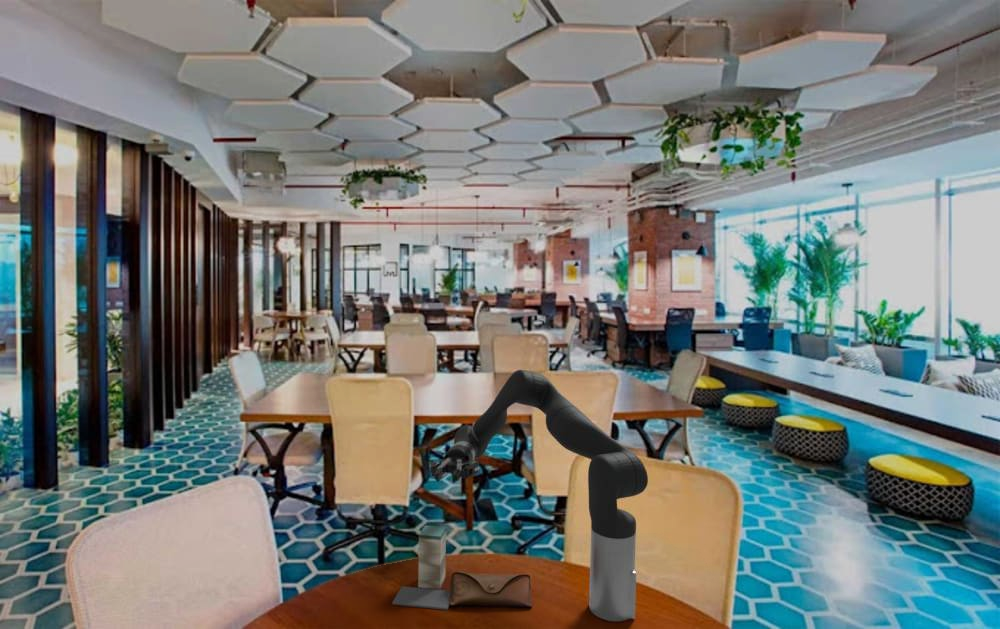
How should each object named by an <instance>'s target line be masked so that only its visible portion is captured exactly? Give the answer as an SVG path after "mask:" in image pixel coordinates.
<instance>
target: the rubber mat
mask: <svg viewBox="0 0 1000 629" xmlns="http://www.w3.org/2000/svg"><path fill="white" fill-rule="evenodd" d="M391 604H392V605H396V606H404V607H414V608H423V609H435V610H446V611H447V610H449V607H450V606H451V605H450V590H444V589H431V588H421V587H411V586H401V588H400V589H399V590H398V592H397V594H396V595H395V597H394V599H393V600H392V603H391Z"/></svg>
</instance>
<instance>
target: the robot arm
mask: <svg viewBox="0 0 1000 629" xmlns="http://www.w3.org/2000/svg"><path fill="white" fill-rule="evenodd" d="M516 403H517V404H519V405H525V406H528V407H532V408H536V409H538V410H540V411H541V412H542V413H543V414H544V415H545V426H546V430H548V433H549V434H550V435H551V436H552V437H553V438H554V439H555V441H557V442H558V444H560V445H561V446H562V448H564V449H566V450H568V451H570V452H571V453H574V454H577V455H579V456H581V457H584V458H587V459H589V460H590V462H589V466H588V472H587V473H588V474H587V485H588V486H587V488H588V489H587V490H588V511H589V516H590V526H591V527H590V555H589V556H590V557H589V558H590V559H589V561H590V562H589V594H588V601H589V603H588V608H589V610H590V612H591V613H592V614H593V615H594V616H595V617H597V618H599V619H602V620H605V621H608V622H624V621H627V620H635V619H636V591H637V590H636V589H637V588H636V586H637V572H636V541H637V540H636V539H637V538H636V537H637V534H636V533H637V521H636V518H635V516H634V515H633V514H631V513H630V512H628V511H626V510H624V509H620V508H618V500H619V499H625V498H630V497H631V498H632V497H635V496H637V495H640V494H642V493H643V492H644V491H645V490H646V488H647V486H648V483H649V478H648V473H647V469H646V467H645V465H644V463H643V462H642V460H641V459H640V458H639V457H638V455H636V454H635V453H634V452H633V451H631V450H630V449H629V448H627V447H626V446H624V445H623V444H621V443H620V442H618V441H617V440H616V439H614V438H612V437H611V436H610V435H609V434H607V433H606V432H605V431H604V430H603V429H601V428H600V427H599V426H598V425H597V424H596V423H594V422H593V421H592V420H591V419H590V418H589V417H588V416H587V415H586V414H585V413H584V412H582V411H581V410H580V409H579V408H578V407H576V406H575V405H574V404H573V403H572V402H571V401H570V400H568V399H567V398H566V397H565V396H563V395H562V394H561V392H559V390H558V389H557V388H556V386H555V385H554V384H553V383H552V382H551V381H550V378H548V377H546V376H545V375H544V374H541V373H537V372H535V371H534V372H533V371H529V370H526V369H518V370H515V371H514V372H513V373H512V374H511V375H510V376H509V377H508V378H507V380H506V382H505V383H504V385H503V386H502V388H501V389H500V390H499V392H498V393H497V395H496V397H495V398H494V400H493V401H492V403H491V404H490V405H489V407H488V408H487V409H486V410H485V411H484V412H483V413H482V414H481V415H480V417H478V419H477V420H476V421H475V422H474V423H473V425H468V424H466V425H464V426H461V427H460V428H459V429H458V430H457V431H456V433H455V435H454V438H453V445H452V446H451V447H450V448H449V449H448V451H447V452H446V453H445V455H444V457H443V459H441V460H439V462H437V461H435V460H434V459H430V460H429V472H430V475H431V476H432V477H433V478H434V480H435V482H437V483H439V482H440V481H441V480H442V479H443V477H447V476H448V475H451V477H452V479H451V482H452V483H456V482H459V480H461V479H462V477H463V478H464V479H469V478H471V477H473V476H475V475H476V474H478V473H479V467H480V466H479V462H477V461H475V460H476V459H479V458H481V457H483V455H484V454H485V453H486V452H487V449H488V446H489V445H490V442H491V441H492V439H493V438H494V437H495V436H497V434H498V433H500V431H501V430H502V429H503V428H504V427H505V425H506V423H507V419H508V409H509V407H511V406H512V405H514V404H516ZM474 461H475V462H474Z"/></svg>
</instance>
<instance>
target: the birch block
mask: <svg viewBox="0 0 1000 629" xmlns="http://www.w3.org/2000/svg"><path fill="white" fill-rule="evenodd" d="M446 541H447V527H446V526H439V525H438V526H437V525H424V526H423V528H422V529H421V531H420V533H419V534H418V575H417V576H418V577H417V578H418V583H417V584H418V586H417V588H425V589H435V590H441V588H442V585H443V584H444V582H445V579H446V560H447V558H446V556H447V554H446V551H447V549H446V548H447V547H446V546H447V544H446V543H447V542H446Z"/></svg>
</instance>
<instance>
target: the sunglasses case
mask: <svg viewBox="0 0 1000 629" xmlns="http://www.w3.org/2000/svg"><path fill="white" fill-rule="evenodd" d="M450 578H451V581H450V589H449V591H450V605H449V606H453V607H454V606H477V607H478V606H485V607H486V606H487V607H499V608H500V607H501V608H503V607H504V608H505V607H506V608H507V607H508V608H525V607H526V608H527V607H528V608H529V607H533V597H531V596H532V588H531V576H530V575H529V574H526V573H521V574H507V573H505V574H504V573H482V572H481V573H479V572H478V573H475V572H474V573H469V572H468V573H465V572H462V571H455V572H453V573H452V574H451V577H450Z"/></svg>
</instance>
